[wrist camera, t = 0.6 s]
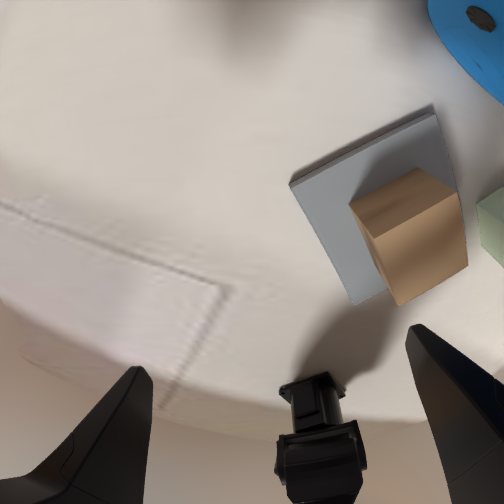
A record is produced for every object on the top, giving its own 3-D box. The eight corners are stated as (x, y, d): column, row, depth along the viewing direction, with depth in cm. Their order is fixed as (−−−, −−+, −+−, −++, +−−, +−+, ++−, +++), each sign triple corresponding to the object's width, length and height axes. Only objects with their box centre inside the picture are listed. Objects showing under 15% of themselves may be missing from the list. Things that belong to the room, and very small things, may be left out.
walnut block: (435, 232, 21) (468, 265, 16) (375, 265, 22) (398, 306, 18) (417, 167, 18) (456, 192, 14) (348, 204, 20) (373, 238, 15)
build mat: (460, 237, 22) (466, 243, 21) (351, 298, 25) (354, 306, 24) (428, 112, 17) (435, 114, 16) (288, 184, 20) (290, 188, 19)
